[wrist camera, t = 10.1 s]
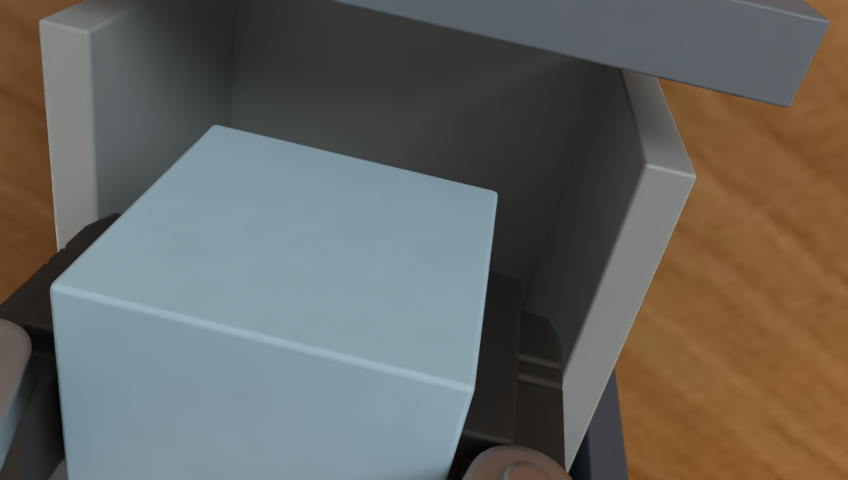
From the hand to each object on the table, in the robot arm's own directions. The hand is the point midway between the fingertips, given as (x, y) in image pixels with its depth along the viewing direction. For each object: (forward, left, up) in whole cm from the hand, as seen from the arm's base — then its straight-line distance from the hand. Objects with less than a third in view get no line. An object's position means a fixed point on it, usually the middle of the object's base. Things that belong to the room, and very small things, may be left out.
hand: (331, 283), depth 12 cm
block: (0, 0, 0) cm, 0 cm away
